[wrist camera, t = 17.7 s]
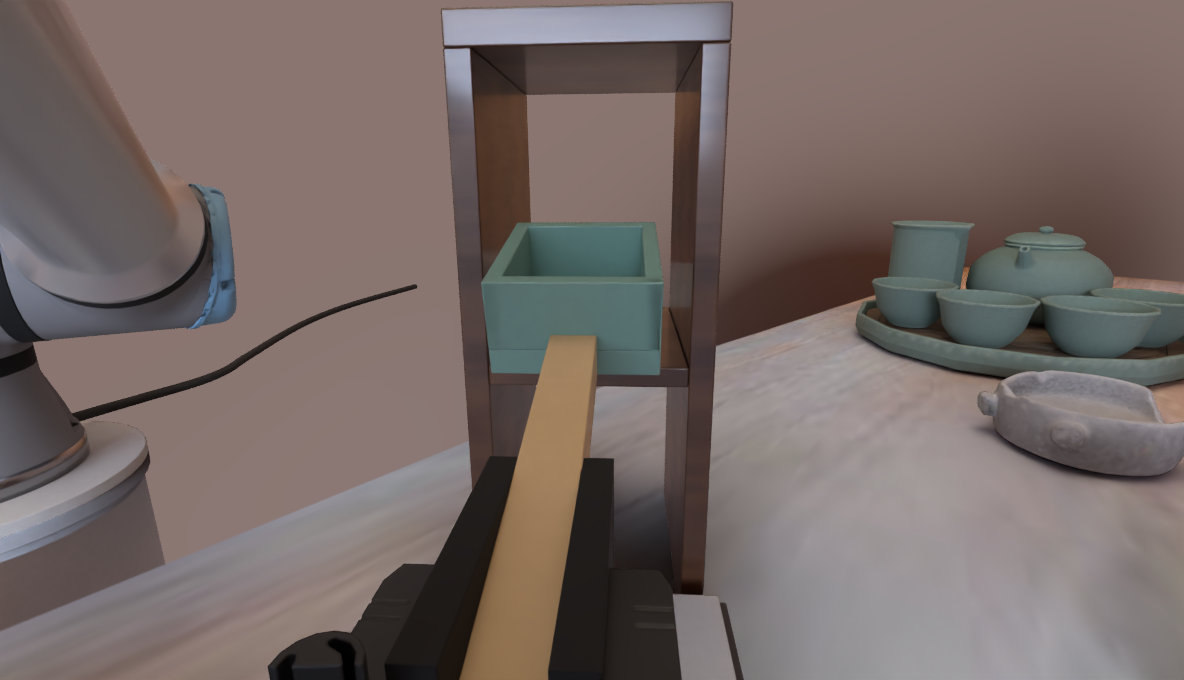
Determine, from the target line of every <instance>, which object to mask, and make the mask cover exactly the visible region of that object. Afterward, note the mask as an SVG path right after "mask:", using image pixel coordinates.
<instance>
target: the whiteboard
mask: <svg viewBox="0 0 1184 680" xmlns="http://www.w3.org/2000/svg"><path fill="white" fill-rule="evenodd" d="M673 601H674V612H675V620H676V630H677V639H678V648H679V657H680V667H681V676H682V680H744V679H743V675H742V670H741V666H740V662H739V657H738V653H737V649H736V644H735V640H734V636H733V632H732V627H731V623H730V619H729V614H728V610H727V606H726V603H720V602H719V597H718V596H711V595H683V594H673Z"/></svg>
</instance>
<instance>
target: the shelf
mask: <svg viewBox="0 0 1184 680" xmlns="http://www.w3.org/2000/svg"><path fill="white" fill-rule="evenodd" d="M732 17H733V2H732V1H719V2H680V3H636V4H600V5H599V4H595V5H555V6H515V7H472V8H442V9H441V21H442V37H443V47H444V49H443V52H444V68H445V82H446V97H447V113H448V129H449V144H450V159H451V174H452V189H453V205H454V220H455V234H456V249H457V265H458V280H459V294H460V310H461V325H462V341H463V355H464V370H465V386H466V400H467V416H468V430H469V446H470V462H471V477H472V490H473V488H474V486H475V484H476V482H477V480H478V478H479V476H480V474H481V472H482V470H483V468H484V466H485V465H486V463H487V461H488V459H489V457H490V456H507V457H518V455H519V451H520V447H521V444H522V440H523V436H524V432H525V428H526V425H527V421H528V417H529V413H530V410H531V406H532V402H533V398H534V395H535V391H536V385H537V383H538V379H539V376H540V374H527V373H492V372H491V364H490V356H489V347H488V339H487V330H486V321H485V313H484V304H483V295H482V286H481V282H482V280H483V279H484V277H485V276H486V274H487V273H488V271H489V269H490V268H491V266H492V264H493V263H494V261H495V259H496V258H497V256H498V254H499V253H500V251H501V249H502V248H503V246H504V244H505V243H506V241H507V239H508V238H509V236H510V234H511V233H512V231H513V229H514V228H515V226H516V224H517V223H531V218H530V187H529V157H528V127H527V97H526V95H538V94H539V95H542V94H604V93H605V94H606V93H607V94H608V93H671V92H672V93H673V92H676V94H675V126H674V127H675V128H674V160H673V161H674V162H673V163H674V164H673V195H672V231H671V265H670V301H669V308H668V307H663V313H662V338H661V362H660V374H659V375H605V374H597V383H596V386H626V387H667V404H666V438H665V473H664V497H665V505H666V514H667V522H668V531H669V540H670V548H671V557H672V566H673V574H674V583H675V592H676V594H683V595H703V588H704V568H705V548H706V529H707V509H708V489H709V470H710V450H711V430H712V411H713V391H714V371H715V352H716V332H717V312H718V293H719V273H720V253H721V234H722V233H721V232H722V214H723V213H722V212H723V194H724V174H725V153H726V135H727V115H728V96H729V76H730V56H731V43H730V41H731V37H732Z"/></svg>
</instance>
